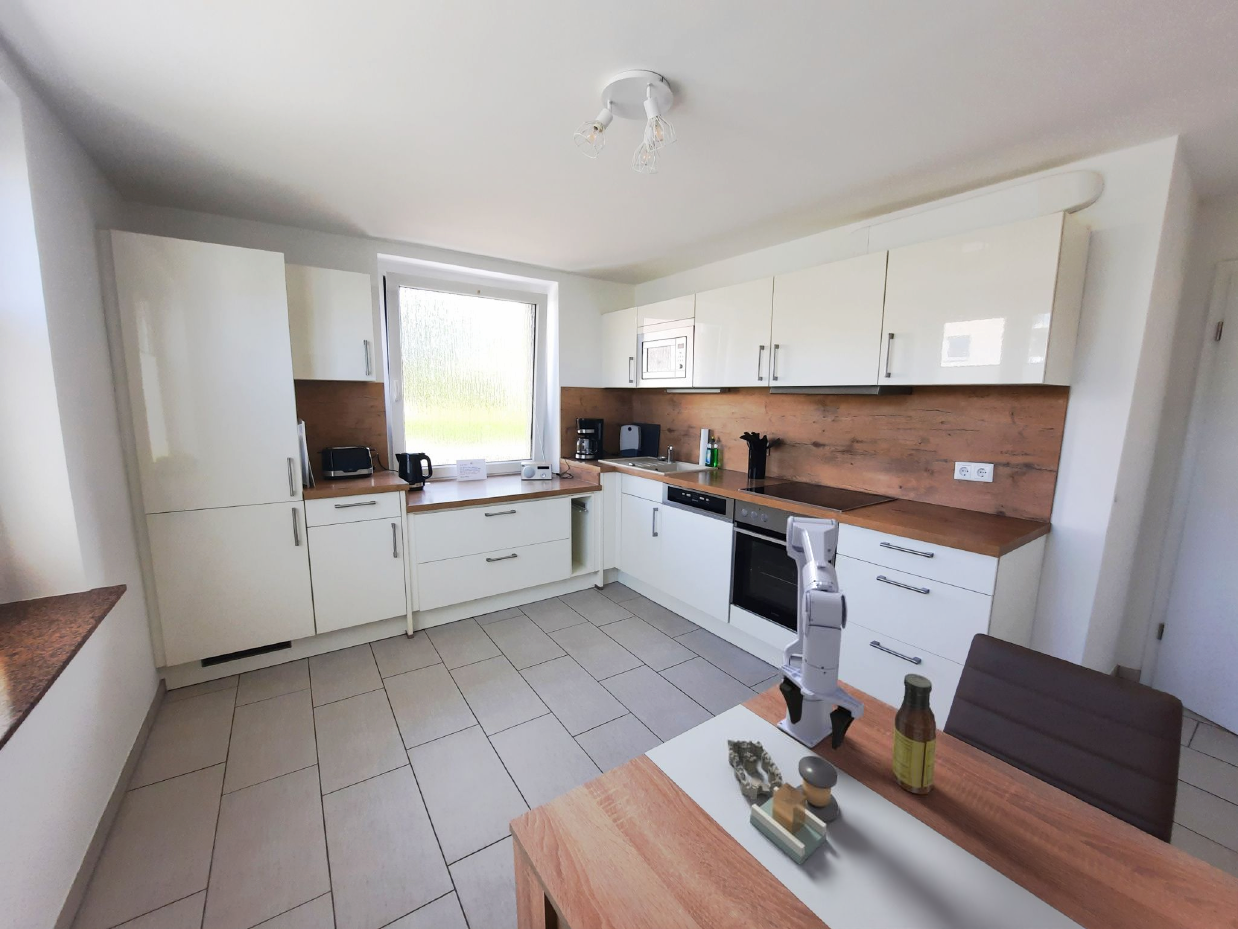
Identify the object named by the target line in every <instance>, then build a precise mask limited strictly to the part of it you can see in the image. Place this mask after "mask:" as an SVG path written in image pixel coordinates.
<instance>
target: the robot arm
mask: <svg viewBox="0 0 1238 929" xmlns="http://www.w3.org/2000/svg"><path fill="white" fill-rule="evenodd" d="M786 520H787V522H786V552H787V556H789V557H790V558H792V559H794V560H795V563H796V567H797V624H796V626H797V627H796V628H797V630H796V632H797V634H796V635H797V636H796V637H797V638H795V640H792V641H791V642H790V643H787V644H786V645H785V647H784V648H783V650H782V653H783V654H782V659H781V660H782V663H781V665H780V666H778V674H777V675H778V676H777V677H778V678H780V679H781V683H780V684H779V687H778V689H779V691H780V692H781V694H782V696H783V698H784V700H785V703H786V715H785V716H786V717H785V718H783V719H781V720H780V721H779V722H777V723H776V727H777V728H779V729H780V730H782V731H784V732H785V733H787V734H788V735H789V736H791V737H792V738H794V739H796V740H797V741H799V742H801V743H802V744H804V745H805V746H806V747H808V748H815V746H816V745H818V744H819V743H820V742H822V740H825V738H827V737H829V735H831V741H830V747H831V749H833V750H834V751H837V750H838V749H839V748H840V747H842V746H843V743H844V739H845V737H846V734H847V732H848V730H849V728H850V726H851V725H852V724H853V722H854V721H855V719H856V720H859V719H861V718H862V717H863V716H864V713H865V712H864V711H865V703H863V702H861V701H860V700H858V698H857V699H856V698H855V696H852V695H851V694H850V693H849V692H847V690H846V689H844V688H843V687H841V686H840V685H839V667H840V654H841V642H842V640H841V639H842V630H845V628H846V626H847V623H848V622H847V621H848V603H847V602H848V601H847V597H846V593H845V592H843V589H840V586H839V581H838V575H837V570H836V568H835V566H834V565H833V564H832V563H830V562H829V561H831V560H833V556H834V554H835V552H836V548H837V546H838V540H839V524H838V521H836V519H834V518H831V519H827V518H812V517H811V518H810V517H800V516H793V515H789V517H788V518H787V519H786ZM793 654H797V655H793ZM798 655H802V656H798ZM834 706H837V708H835V709H834Z"/></svg>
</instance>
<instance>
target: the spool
mask: <svg viewBox="0 0 1238 929" xmlns="http://www.w3.org/2000/svg"><path fill="white" fill-rule="evenodd" d="M797 765H798V768H797V770H798V774H799V775H800V777H801V778H802V784H799V785H798V786H796V787H794V788H795V789H797V790H798V791H799V792H801V793H802V794H803V795H805V796H806V809H807V810H808V811H809V812H811V813H812V814H813V815H815V816H816V817H817V818H818V819H820V820H821V821H822V822H824V823H825V824H827V823H828V824H830V823H832V822H834V821H835V820H836V819H837V818H838V815H839V803H838V801H837V800H836V798H835V796H833V794H832V788H833V787H835V786H836V785H837V783H838V777H839V776H838V772H837V769H836V767H835V766H834V765H833V764H832V763H830V762H829V761H828V760H826V759H824V758H821V757H820V756H819V757H818V756H815V755H806V756H804V757H802V758H800V759H799V761H798V764H797Z"/></svg>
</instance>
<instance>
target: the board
mask: <svg viewBox="0 0 1238 929" xmlns="http://www.w3.org/2000/svg"><path fill="white" fill-rule="evenodd" d="M778 789H779V788H778V787H775V788H774V789H773V794H774V792H775V791H777V790H778ZM772 812H773V797H772V798H769V799H768V800H767V801H766V802H764V803H763V804H762V805H761V806H758V805H757V804H756V803H754V804H752V805H751V807H750V816H749V822H750V823H751V824H752V825H753V826H754V827H755V828H757V829H758V831H760V832H761V833H762V834H763V835H765V836H766V837H767V838H768V839H770V841H771V842H773V844H775V845H776V846H777V847H779V849H781V850H782V851H783V852H784V853H785V854H786V855H787V856H789V857H790V858H791V859H792V860H793V861H794V862H796V863H797V865H799V866H801V865H802V864H803V863H804V862H805V861H806V860H807V859H808V858H809V857H810V856H811V855H812V854H813V853H814V852H815V851H816V850H817V849H818V848H819V847H820V846H821V844H823V842H825V841H826V840H827V823H824V822H822V821H821V820H820V819H818V818H817V817H816V816H815V815H813V814H812V813H811V812H809V811H808V810H807V809H805V824H804V826H803V827H802V828H801V829H800V830H799V831H797V832H796V833H795V834H794V835H792V834H791V833H789V832H788V831H787V830H786V829H785V828H783V827H782V826H781V825H780V824H778V823H777V822H776V821H775V820H774V819H772Z"/></svg>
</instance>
